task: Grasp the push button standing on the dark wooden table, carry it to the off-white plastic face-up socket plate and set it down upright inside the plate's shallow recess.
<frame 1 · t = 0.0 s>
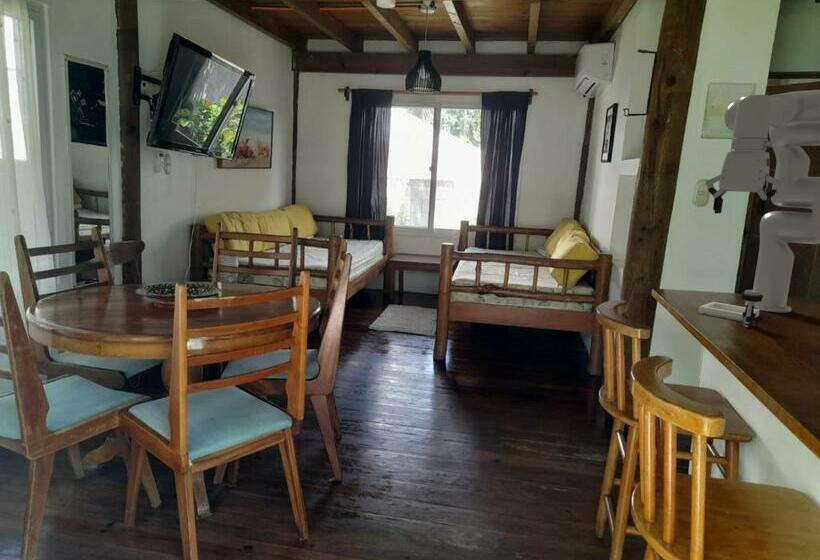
hand: (738, 214, 136), 31 cm above the table, fingers open, 9 cm apart
socket plate: (728, 314, 161), on the table
push button: (746, 326, 148), on the table
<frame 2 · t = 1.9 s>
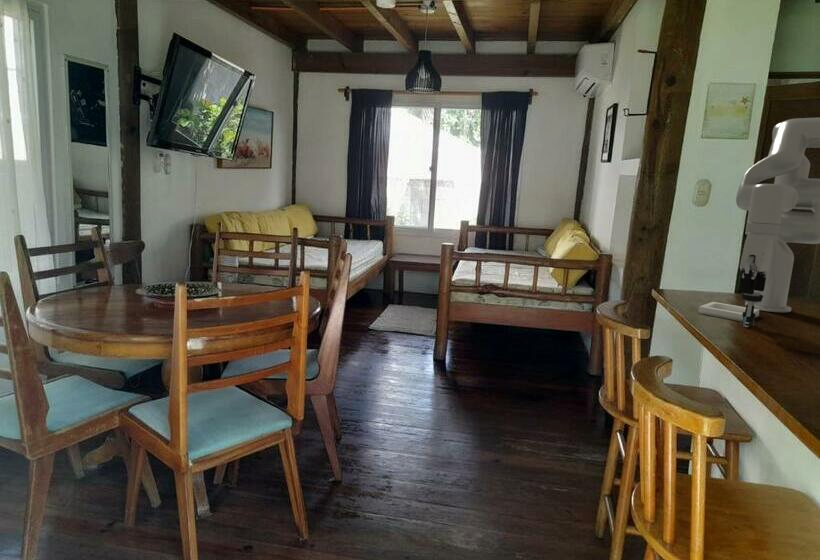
hand: (751, 291, 145), 10 cm above the table, fingers open, 9 cm apart
nothing on the table moved.
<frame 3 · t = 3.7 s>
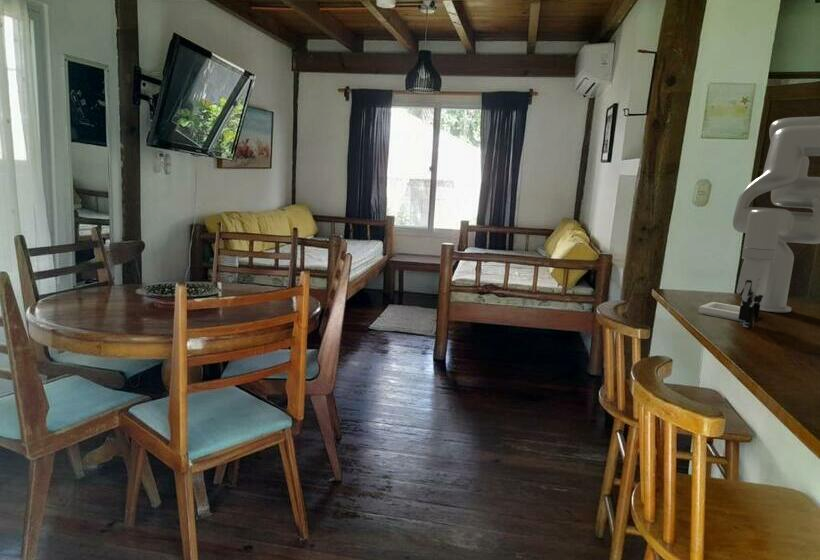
hand: (748, 318, 147), 2 cm above the table, fingers closed on push button, 5 cm apart
push button: (746, 327, 147), on the table, touching gripper
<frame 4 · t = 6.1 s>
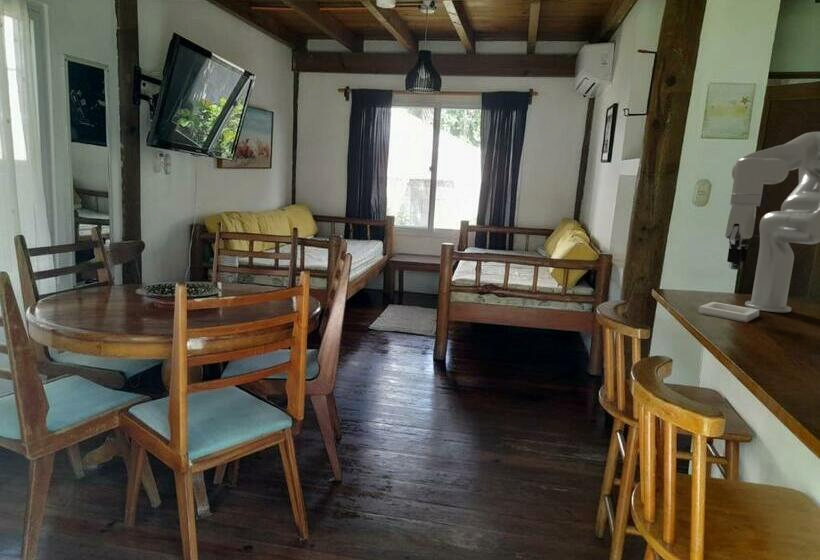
hand: (736, 261, 158), 17 cm above the table, fingers closed on push button, 5 cm apart
push button: (734, 269, 158), point 14 cm above the table, touching gripper
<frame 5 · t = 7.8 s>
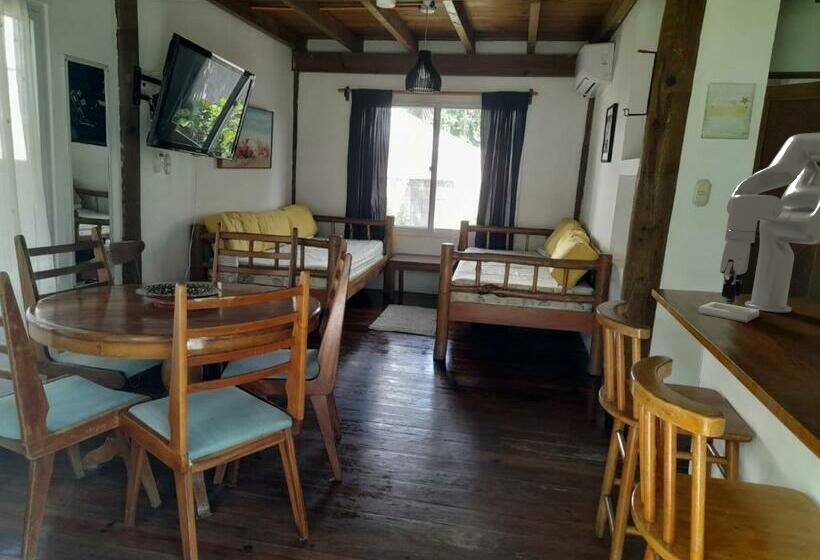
hand: (730, 295, 160), 6 cm above the table, fingers closed on push button, 5 cm apart
push button: (728, 303, 160), point 4 cm above the table, touching gripper
when the fingers open (4 cm above the table, at t = 9.0 s): push button drops 1 cm, resting on socket plate.
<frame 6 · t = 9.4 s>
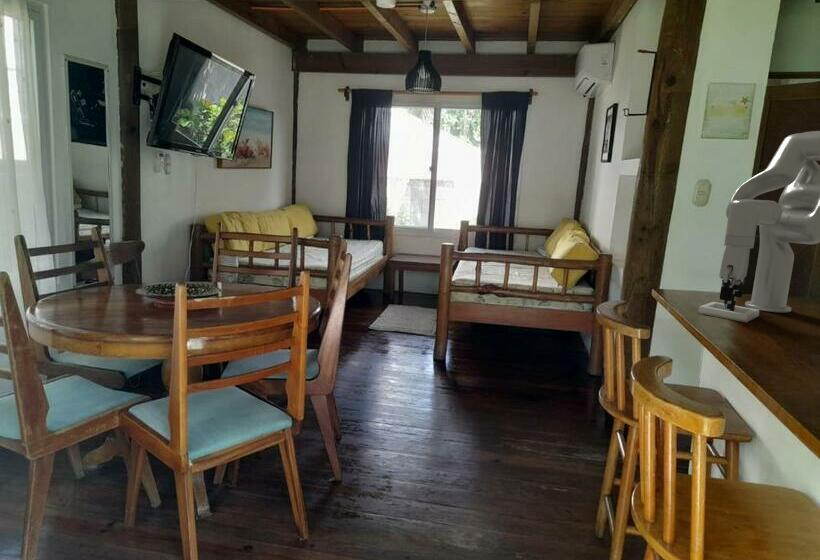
hand: (730, 298, 160), 5 cm above the table, fingers open, 9 cm apart
push button: (727, 313, 160), point 1 cm above the table, touching socket plate
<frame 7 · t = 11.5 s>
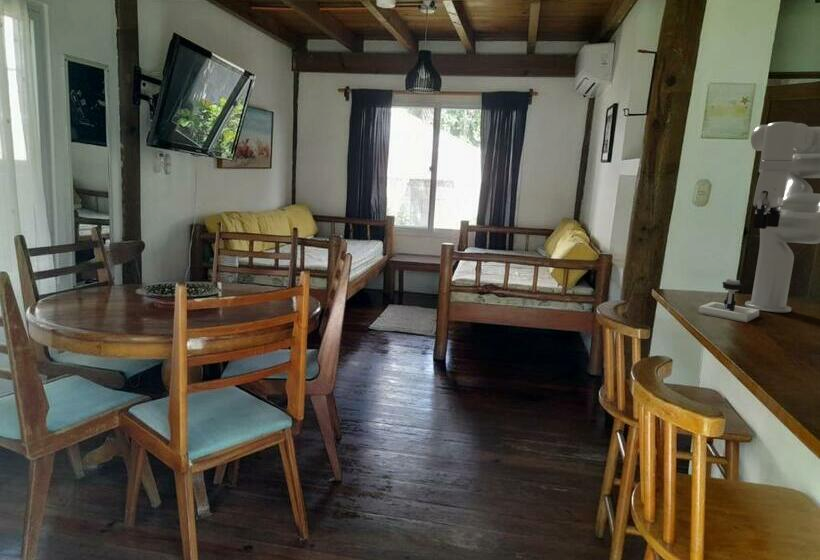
hand: (765, 227, 153), 27 cm above the table, fingers open, 9 cm apart
nothing on the table moved.
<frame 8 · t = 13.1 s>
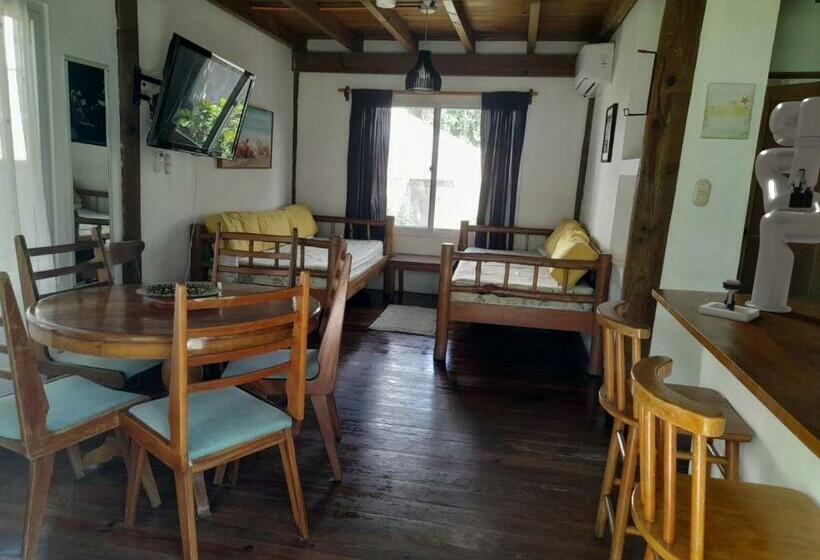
hand: (799, 207, 147), 33 cm above the table, fingers open, 9 cm apart
nothing on the table moved.
at the end: push button inside the target area on the socket plate (0.5 cm from its centre), point 0.5 cm above the socket plate's base; push button tilted 0°; the gripper is holding nothing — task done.
